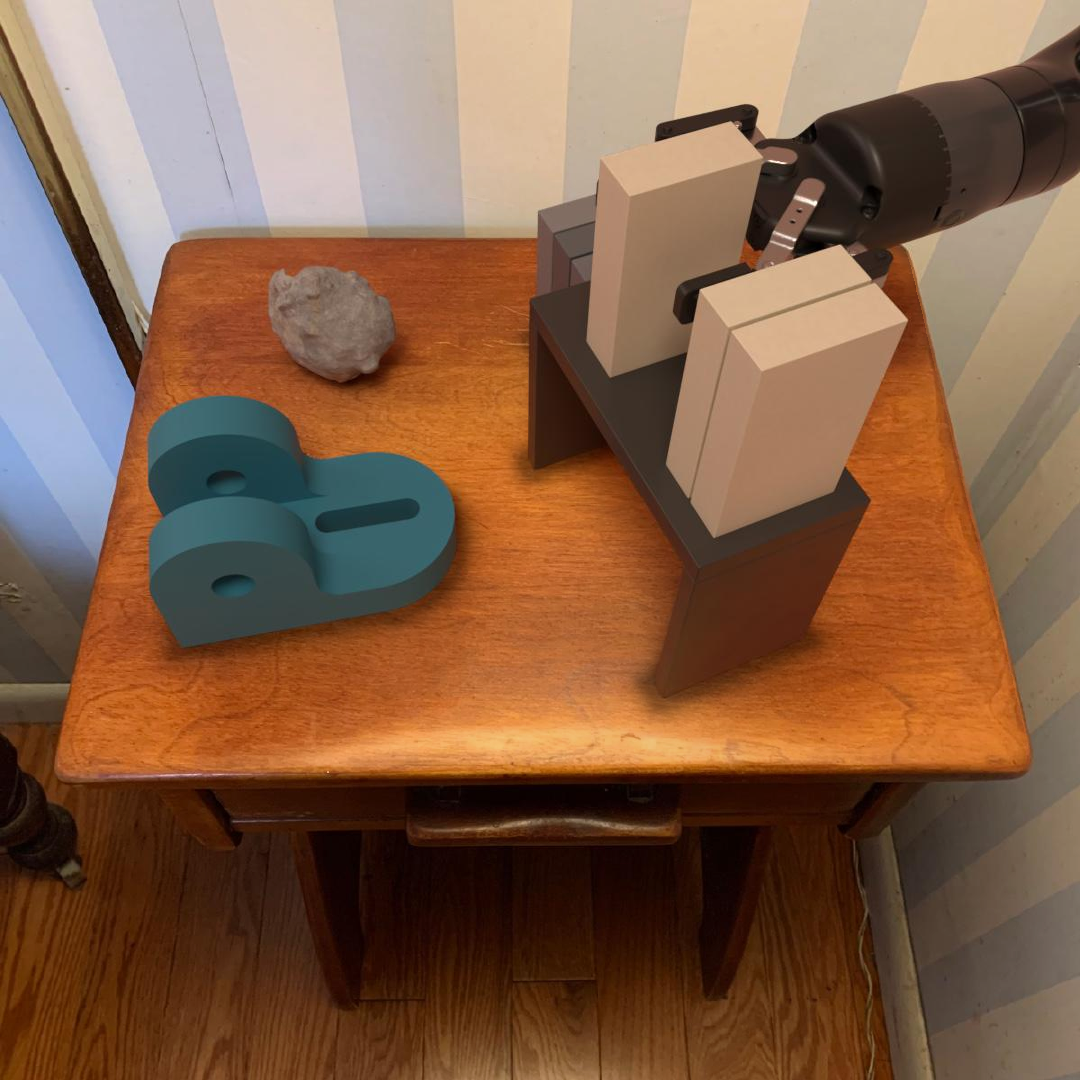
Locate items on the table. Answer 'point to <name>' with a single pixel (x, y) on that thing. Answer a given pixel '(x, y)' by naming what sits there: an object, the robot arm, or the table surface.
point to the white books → (778, 386)
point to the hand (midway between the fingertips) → (636, 249)
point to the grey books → (565, 244)
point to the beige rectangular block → (664, 238)
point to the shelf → (683, 501)
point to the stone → (331, 321)
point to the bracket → (283, 525)
